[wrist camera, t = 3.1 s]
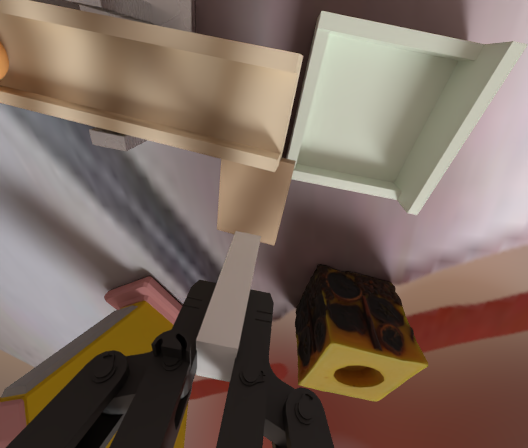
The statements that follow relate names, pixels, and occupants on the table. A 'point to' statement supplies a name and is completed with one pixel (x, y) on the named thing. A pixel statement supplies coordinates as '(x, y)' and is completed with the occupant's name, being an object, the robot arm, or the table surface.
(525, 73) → the table surface
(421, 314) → the table surface
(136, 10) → the fulcrum
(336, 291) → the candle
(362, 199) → the table surface
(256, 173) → the beige piece
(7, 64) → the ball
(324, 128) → the tray
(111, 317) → the pink yellow-faced device
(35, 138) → the table surface
